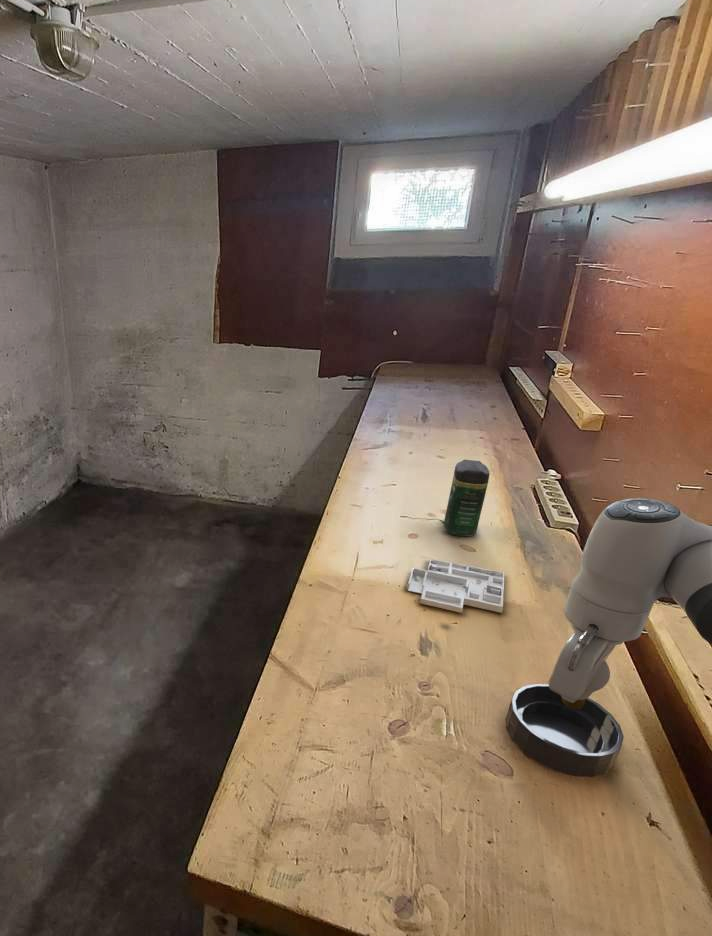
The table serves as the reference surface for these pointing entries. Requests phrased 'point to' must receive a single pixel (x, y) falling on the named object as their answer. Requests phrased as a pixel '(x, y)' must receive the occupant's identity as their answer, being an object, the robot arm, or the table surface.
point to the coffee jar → (466, 497)
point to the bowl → (563, 732)
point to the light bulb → (592, 686)
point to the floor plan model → (458, 586)
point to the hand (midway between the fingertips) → (576, 687)
